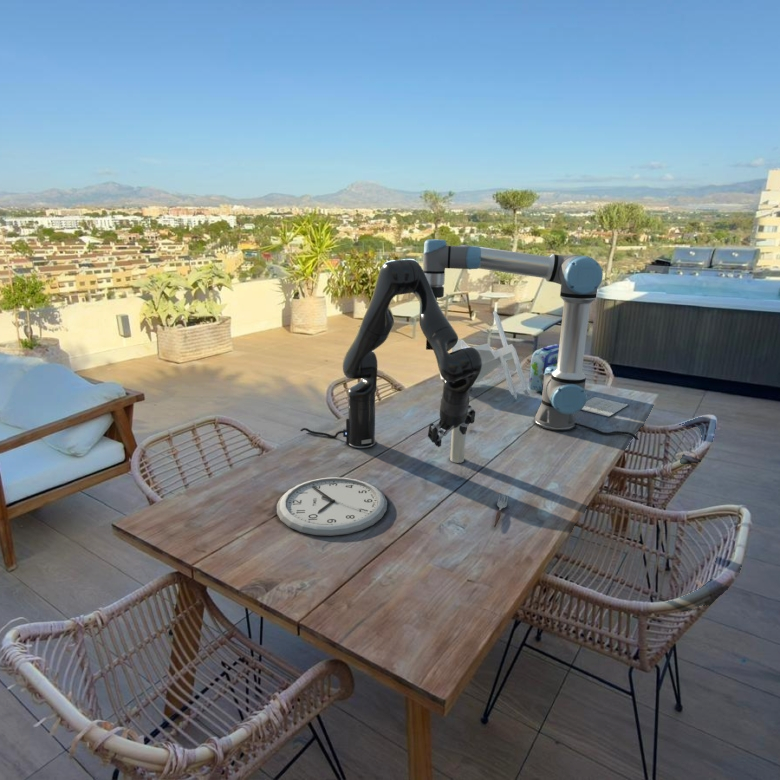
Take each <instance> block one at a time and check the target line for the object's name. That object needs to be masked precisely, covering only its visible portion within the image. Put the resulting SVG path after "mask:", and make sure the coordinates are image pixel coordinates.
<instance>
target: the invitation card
mask: <svg viewBox="0 0 780 780" xmlns="http://www.w3.org/2000/svg"><path fill="white" fill-rule="evenodd" d="M628 406H629V404H627V403H623V402H618V401H614V400H609V399H605V398H601V397H596V396H593V397H592V398H590V399H587V401H586V404H585V406H584V407H583V408H582V409H581V410H580V411H584V412H587V413H593V414H596V415H600V416H604V417H608V418H609V417H611V416H613V415H614V414H616V413H617V412H619V411H621V410H623V409H624V408H626V407H628Z"/></svg>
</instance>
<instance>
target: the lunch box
mask: <svg viewBox="0 0 780 780" xmlns="http://www.w3.org/2000/svg"><path fill="white" fill-rule="evenodd" d="M558 353H559V344H551V345H547V346H545V347H541V348H539V349H536V350H534V352H533V353H532V355H531V358H530V359H531V360H530V366H529V377H528V379H529V380H528V387H529V390H531V391H536V392H541V393H542V392H543V382H544V373H545V369H546V368H547V367H553V366H557V362H558Z"/></svg>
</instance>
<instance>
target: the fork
mask: <svg viewBox="0 0 780 780" xmlns="http://www.w3.org/2000/svg"><path fill="white" fill-rule="evenodd" d="M503 497H504V498H503ZM508 498H509V495H507V497H506V493H505V494H502V495H498V499H497V503H496V506H497V507H498V508H499V509H498V511H497V513H496V514H495V520H494V525H493V527H494V528H496V526H497V524H498V523H499V521H500V520H501V519H500V518H501V513H502V509H505V508H506V507H507V506H508V500H509V499H508Z"/></svg>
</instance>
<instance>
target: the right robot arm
mask: <svg viewBox="0 0 780 780" xmlns="http://www.w3.org/2000/svg"><path fill="white" fill-rule="evenodd" d="M423 244H424V245H423V255H422V257H423V260H422V269H423V271H424V273H425V275H426V278H427V280H428V282H429V284H430V287H431V289H432V291H433V294H434V296H435V298H436V301H437V303H438V304H439V301H438V299H442V298H444V295H445V286H444V285H445V280H446V279H445V277H446V269H454V270H455V269H456V270H478V269H480V270H486V271H493V272H499V273H506V274H514V275H521V276H528V277H535V278H540V279H545V281H546V282H549V283H556V284H558V285H560V290H559V291H560V293H559V297H560V298H561V300H562V301H563V306H562V307H563V308H562V316H561V317H562V318H561V326H560V335H559V344H558V345H559V353H558V362H557V366H553V367H547V368H546V369H545V373H544V382H543V392H541V393H542V394H541V402H540V405H539V407H538V410H537V411H536V413H535V417H534V424H535V425H536V426H537V427H539V428H542V429H544V430H549V431H556V432H567V431H572V430H574V429H575V428H576V426H577V427H581V428H583V429H587V430H590V431H594V432H595V433H599V434H601V435H607V436H610V435H617V434H618V435H628V436H630V437H632V438H634V439H635V440H637V441H639V438H638V436H637V435H636V434H634V433H633V432H630V431H622V430H621V431H620V430H614V431H602V430H600V429H597V428H596V427H595V428H594V427H591V426H588V425H586V424H582V423H579V422H576V418H575V417H576V416H575V414H576V413H579V412H580V411H582V410H581V409H582V408H583V407H584V406H585V404H586V401H588V397H587V392H586V391H585V390H586V389H585V387H586V381H587V375H586V374H585V373H584V372H583V367H584V360H585V352H586V344H587V343H586V342H587V335H588V327H589V320H590V311H591V304H592V303H593V302H594V301H595V300H596V299H597V295H598V294H597V293H598V288H599V287H600V285H601V284H602V281H603V276H604V275H603V274H604V273H603V269H602V266H601V265H600V263H599V262H598V261H597V260H596V259H594V258H593V257H591V256H587V255H581V254H580V255H579V254H570V255H569V254H566V255H565V254H554V253H552V254H551V255H550V256H547V255H539V254H533V253H525V252H517V251H509V250H505V249H496V248H488V247H482V246H475V245H469V244H464V243H463V244H459V245H447V241H446V240H445V239H426V240H425V241H424V243H423ZM425 340H426V341H425V342H426V343H425V350H427V351H428V350H429V351H433V348H432V346H431V345H430V343H429V342H428V340H427V339H426V338H425Z"/></svg>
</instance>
